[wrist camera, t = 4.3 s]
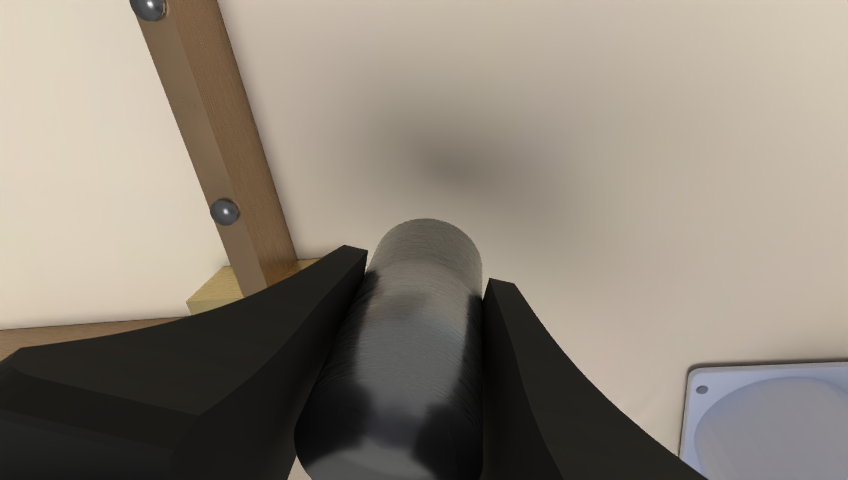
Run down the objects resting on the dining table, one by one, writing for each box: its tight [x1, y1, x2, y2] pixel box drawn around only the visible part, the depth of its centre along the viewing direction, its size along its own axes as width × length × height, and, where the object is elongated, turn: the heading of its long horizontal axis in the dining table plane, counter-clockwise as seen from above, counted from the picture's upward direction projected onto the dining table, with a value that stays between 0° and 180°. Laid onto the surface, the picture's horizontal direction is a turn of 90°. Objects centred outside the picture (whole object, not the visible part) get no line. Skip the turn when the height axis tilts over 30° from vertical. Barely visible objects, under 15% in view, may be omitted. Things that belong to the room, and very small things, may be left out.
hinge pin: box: [294, 219, 483, 480], centre depth 10 cm, size 3×3×6 cm
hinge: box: [0, 0, 321, 361], centre depth 19 cm, size 22×22×3 cm
